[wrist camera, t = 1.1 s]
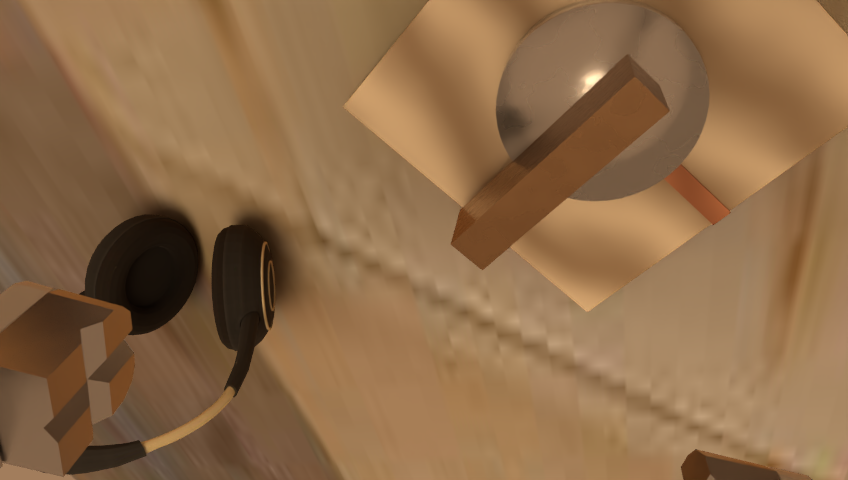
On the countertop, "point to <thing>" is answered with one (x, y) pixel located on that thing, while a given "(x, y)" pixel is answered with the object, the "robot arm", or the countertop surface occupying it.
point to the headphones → (181, 303)
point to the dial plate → (661, 203)
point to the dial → (586, 117)
